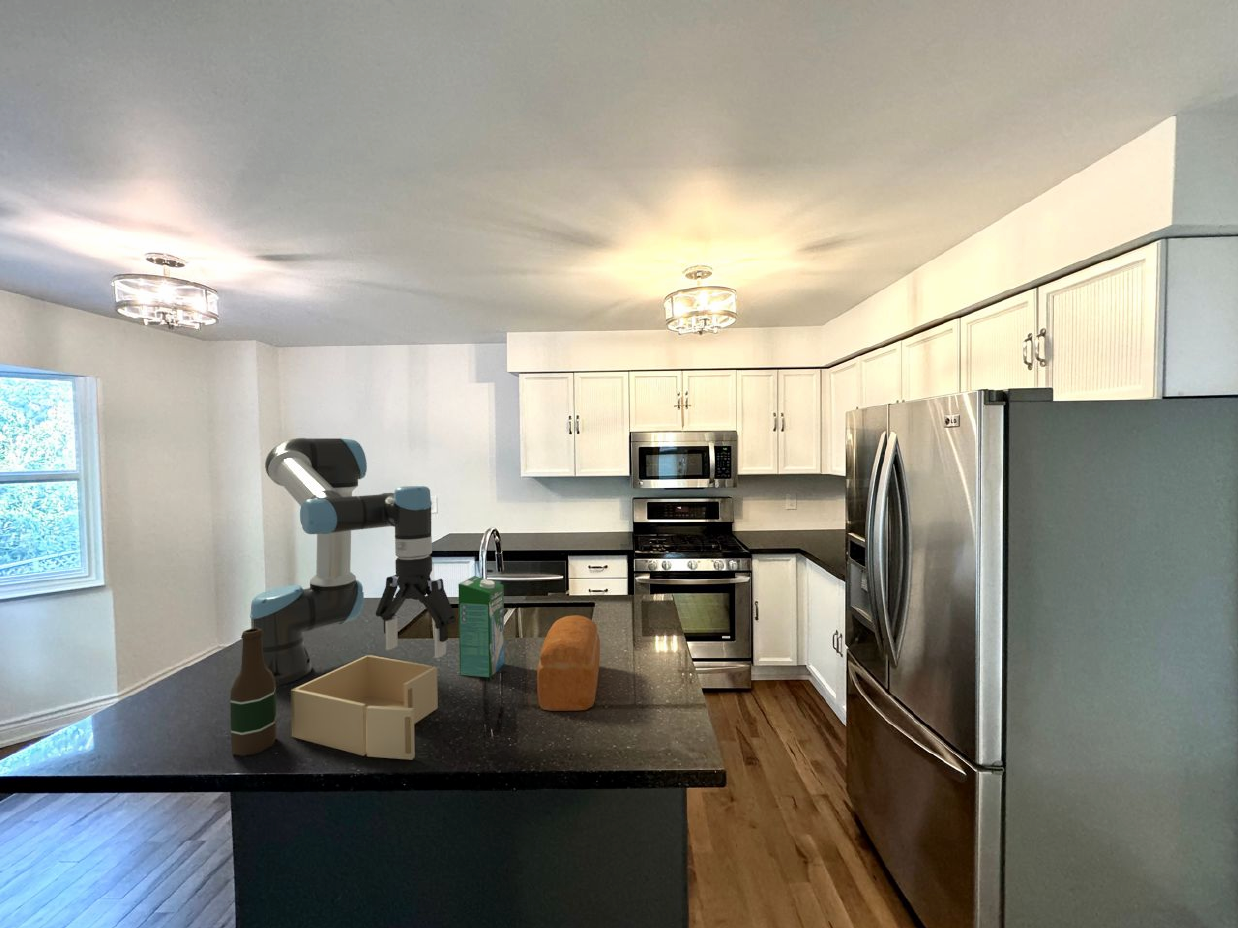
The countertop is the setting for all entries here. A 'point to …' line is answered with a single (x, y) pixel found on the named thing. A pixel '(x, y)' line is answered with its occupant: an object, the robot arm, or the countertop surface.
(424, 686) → the flap
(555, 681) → the bread
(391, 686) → the carton
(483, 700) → the countertop surface
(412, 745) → the flap
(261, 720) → the beer bottle
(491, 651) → the milk carton
